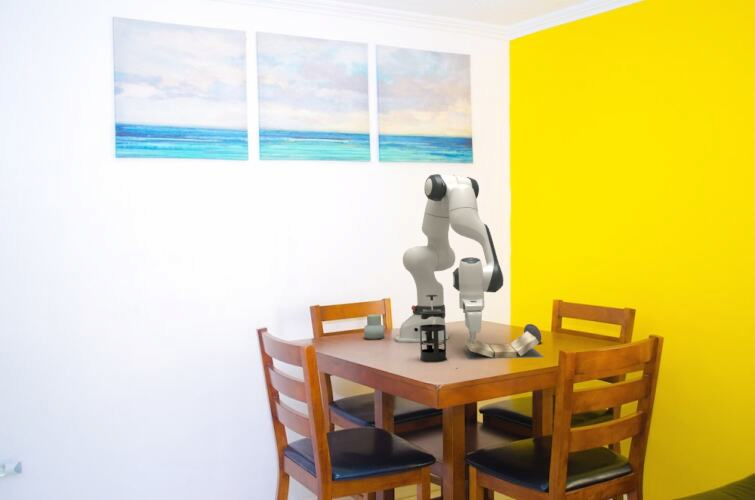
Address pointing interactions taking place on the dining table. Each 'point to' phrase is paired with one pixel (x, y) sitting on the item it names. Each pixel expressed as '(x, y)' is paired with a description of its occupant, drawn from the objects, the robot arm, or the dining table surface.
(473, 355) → the underlay mat
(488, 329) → the dining table surface
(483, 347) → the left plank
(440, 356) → the french press
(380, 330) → the air freshener
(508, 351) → the fixed plank
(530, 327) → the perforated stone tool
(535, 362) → the dining table surface
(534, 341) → the right plank
